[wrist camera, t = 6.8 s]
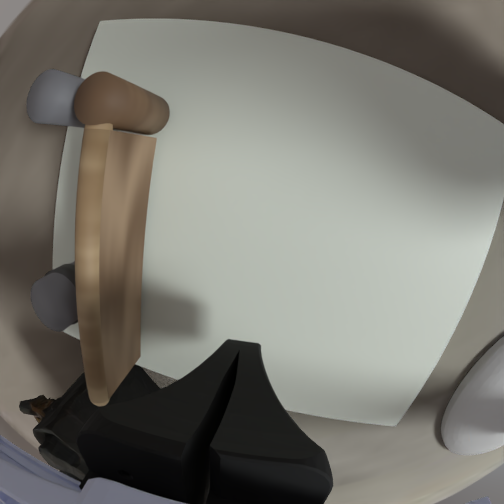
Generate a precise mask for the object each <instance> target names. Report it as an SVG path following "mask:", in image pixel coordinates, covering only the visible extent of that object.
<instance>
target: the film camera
mask: <svg viewBox="0 0 504 504" xmlns="http://www.w3.org/2000/svg"><path fill="white" fill-rule="evenodd" d="M158 390H160V388H159V387H158V386H157V385H156V384H155V383H154V382H153V381H152V380H151V378H150V377H149V376H148V375H147V374H146V372H145V371H144V370H143V369H142V368H141V367H140V366H139V365H136V364H135V365H134V366H133V367H132V369H131V370H130V371H129V373H128V374H127V375H126V377H125V378H124V379H123V381H122V382H121V384H120V385H119V386H118V388H117V389H116V390H115V392H114V393H113V394H112V396H111V397H110V399H109V402H108V403H107V404H106V405H112V404H117V403H122V402H126V401H130V400H133V399H137V398H140V397H143V396H146V395H148V394H151V393H153V392H156V391H158ZM106 405H105V406H106ZM99 407H100V406H96V405H94V404H93V403H92V402H91V401H90V398H89V394H88V389H87V384H86V378H85V372H84V373H83V374H82V375H81V376H80V377H79V378H78V379H77V380H76V382H75V383H74V384H73V385H72V386H71V387H70V388H69V389H68V390H67V391H66V393H65V394H64V395H63V396H62V397H60V398H58V399H57V400H54V399H50V398H49V399H47V398H46V397H45V396H44V395H40V396H38V397H37V398H34V399H30V400H25V401H20V405H19V408H20V411H22V412H23V413H24V414H30V415H34V417H35V419H36V420H37V422H38V425H37V426H36V427H35V428H34V429H33V433H34V436H35V438H36V439H37V440H38V442H39V443H40V444H41V445H40V446H39V447H38V448H39V452H40V454H41V455H42V457H43V458H44V459H45V460H46V461H47V463H48V464H49V465H51V466H52V467H54V468H56V469H59V470H60V472H61V473H63V474H65V475H67V476H69V477H71V478H73V479H75V480H77V481H79V482H82V480H83V479H84V477H85V476H86V474H87V472H88V471H89V469H88V467H87V465H86V463H85V461H84V459H83V457H82V455H81V453H80V450H79V448H78V445H77V442H76V437H77V434H78V433H79V431H80V430H81V429H82V427H83V426H84V425H85V423H86V422H87V420H88V419H89V418H90V417H91V415H92V414H93V413H94V412H95V411H96V410H97V409H98V408H99ZM209 490H210V488H209ZM208 493H209V492H208ZM207 497H208V496H207Z"/></svg>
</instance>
